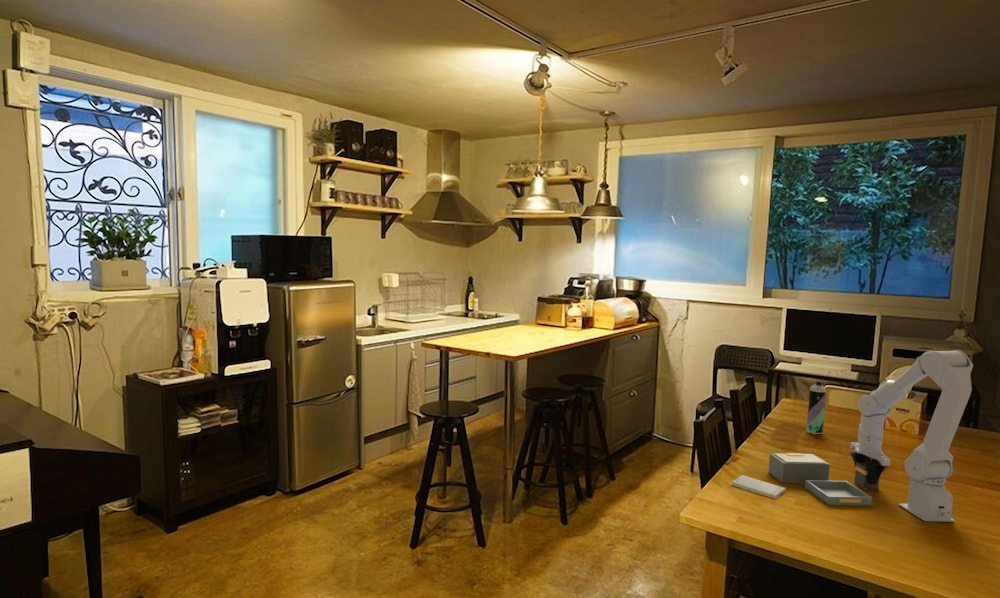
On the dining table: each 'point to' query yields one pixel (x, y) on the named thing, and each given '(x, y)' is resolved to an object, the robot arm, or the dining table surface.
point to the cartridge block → (863, 476)
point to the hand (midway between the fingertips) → (866, 480)
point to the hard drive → (758, 486)
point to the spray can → (816, 408)
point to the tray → (838, 493)
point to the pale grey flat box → (798, 467)
